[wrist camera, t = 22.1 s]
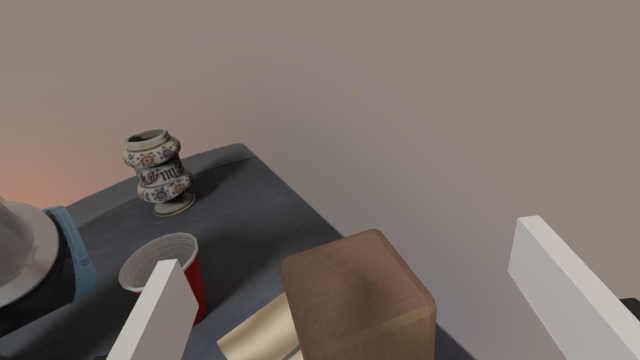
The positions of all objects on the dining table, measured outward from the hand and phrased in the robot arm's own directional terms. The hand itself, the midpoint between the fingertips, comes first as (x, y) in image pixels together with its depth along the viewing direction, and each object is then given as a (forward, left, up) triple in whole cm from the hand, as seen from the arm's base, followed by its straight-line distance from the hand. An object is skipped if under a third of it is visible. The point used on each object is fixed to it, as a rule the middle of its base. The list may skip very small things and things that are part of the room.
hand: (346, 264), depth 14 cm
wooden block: (-7, +6, -31) cm, 32 cm away
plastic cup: (-36, -3, -32) cm, 49 cm away
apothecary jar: (-70, +8, -32) cm, 78 cm away
